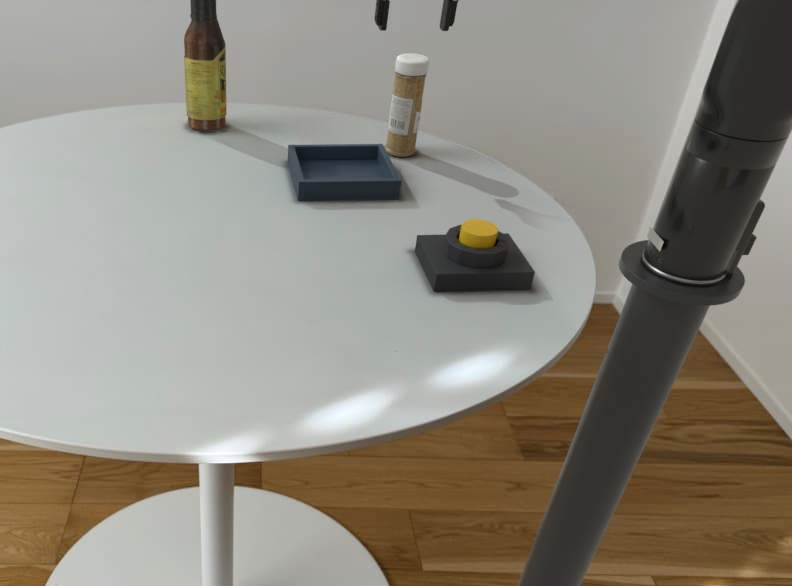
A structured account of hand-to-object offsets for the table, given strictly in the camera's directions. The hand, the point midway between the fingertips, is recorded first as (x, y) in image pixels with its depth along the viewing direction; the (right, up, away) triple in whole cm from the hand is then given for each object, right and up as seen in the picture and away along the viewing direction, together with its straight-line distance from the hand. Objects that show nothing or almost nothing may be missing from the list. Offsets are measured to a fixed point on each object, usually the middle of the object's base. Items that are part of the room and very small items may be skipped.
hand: (413, 29), depth 106 cm
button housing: (+3, -35, -16) cm, 39 cm away
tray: (-9, -20, +2) cm, 22 cm away
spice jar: (0, -13, +11) cm, 17 cm away
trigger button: (+3, -33, -18) cm, 37 cm away
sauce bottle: (-29, -7, +17) cm, 34 cm away
